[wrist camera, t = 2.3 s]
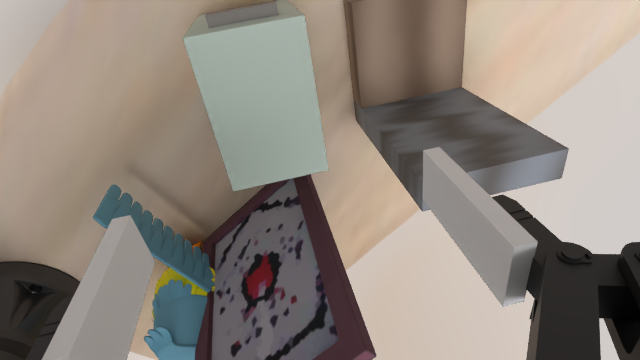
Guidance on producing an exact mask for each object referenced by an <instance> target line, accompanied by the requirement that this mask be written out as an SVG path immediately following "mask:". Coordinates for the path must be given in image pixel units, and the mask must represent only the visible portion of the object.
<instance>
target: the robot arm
mask: <svg viewBox="0 0 640 360" xmlns="http://www.w3.org/2000/svg"><path fill="white" fill-rule="evenodd" d="M423 200H424V201H425V203H426V204H427V205H428V207H429V208H430V210H431V211H432V212H433V213H434V215H435V216H436V217H437V219H438V220H439V222H440V223H441V224H442V226H443V227H444V228H445V230H446V231H447V232H448V233H449V235H450V236H451V238H452V239H453V240H454V242H455V243H456V244H457V246H458V247H459V248H460V250H461V251H462V252H463V254H464V255H465V256H466V258H467V259H468V260H469V262H470V263H471V265H472V266H473V267H474V269H475V270H476V271H477V273H478V274H479V275H480V277H481V278H482V279H483V281H484V282H485V283H486V285H487V286H488V287H489V288H490V290H491V291H492V293H493V294H494V295H495V297H496V298H497V299H498V301H499V302H500V303H501V305H502V306H503V307H504V306H508V305H512V304H516V303H520V302H524V299H525V295H526V291H527V290H528V291H529V292H530V294H532V296H533V297H534V298H535V300H534V303H533V307H532V311H531V315H530V319H531V326H530V335H529V343H528V351H527V359H526V360H601V356H600V329H599V318H604V321H605V323H606V326H607V328H608V331H609V333H610V336H611V338H612V341H613V344H614V346H615V349H616V351H617V354H618V356H619V359H620V360H640V242H632V243H629V244H627V245H625V246H624V248H623V249H622V251H621V254H619V255H617V254H592V253H591V252H590V251H589V250H588V249H586V248H584V247H582V246H580V245H577V244H574V243H569V242H562V241H560V240H559V239H558V238H557V237H556V236H555V235H554V234H553V233H551V232H550V231H549V230H548V229H547V228H546V227H545V226H544V225H542V224H541V223H540V222H539V221H538V220H537V219H536V218H533V216H532V215H531V214H530V213H529V212H528V211H525V209H524V208H523V207H522V206H521V205H520V204H519V203H518V202H517V201H515V200H513V199H511V198H509V197H507V196H504V195H499V196H495V197H491V196H490V195H489V194H488V193H487V192H486V191H485V190H484V189H483V188H481V187H480V186H479V185H478V184H477V183H476V182H475V181H474V180H473V179H472V178H471V177H470V176H469V175H468V174H467V173H466V172H465V171H464V170H463V169H462V168H461V167H460V166H459V165H458V164H457V163H456V162H454V161H453V160H452V159H451V158H450V157H449V156H448V155H447V154H446V153H445V152H444V151H443V150H442V149H441V148H440V147H436V148H431V149H427V150H423ZM154 263H155V260H154V258H153V256H152V254H151V253H150V251H149V249H148V247H147V245H146V243H145V241H144V240H143V238H142V236H141V234H140V232H139V230H138V228H137V227H136V225H135V223H134V221H133V219H132V217H131V215H128V216H124V217H119V218H115V219H112V220H111V222H110V224H109V226H108V228H107V230H106V232H105V234H104V236H103V238H102V240H101V242H100V244H99V246H98V248H97V250H96V252H95V254H94V256H93V258H92V260H91V262H90V264H89V266H88V268H87V270H86V272H85V274H84V276H83V278H82V280H81V282H80V283H79V282H78V281H76V280H75V279H73V278H72V277H70V276H68V275H66V274H64V273H62V272H60V271H57V270H55V269H52V268H49V267H45V266H41V265H37V264H31V263H20V262H7V263H0V360H127V357H128V353H129V350H130V346H131V343H132V340H133V336H134V333H135V329H136V326H137V322H138V319H139V315H140V312H141V308H142V305H143V302H144V298H145V295H146V291H147V288H148V284H149V281H150V277H151V274H152V270H153V267H154Z"/></svg>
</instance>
